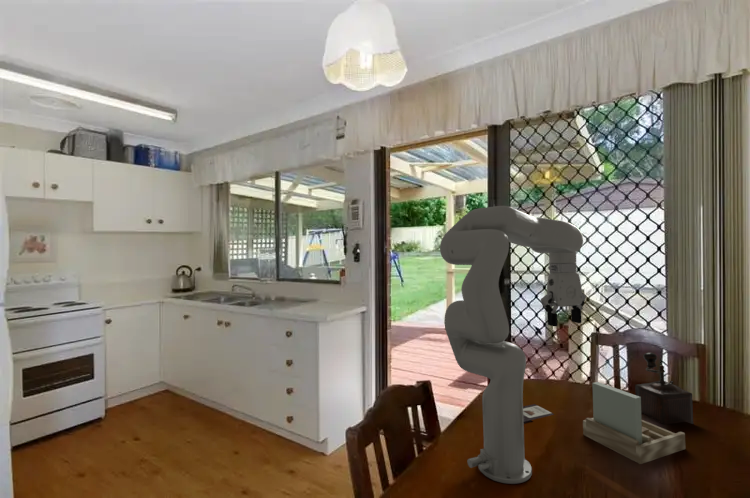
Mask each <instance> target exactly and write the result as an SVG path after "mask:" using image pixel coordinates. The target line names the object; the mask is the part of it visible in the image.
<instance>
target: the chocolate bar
mask: <svg viewBox="0 0 750 498" xmlns="http://www.w3.org/2000/svg"><path fill="white" fill-rule="evenodd" d="M553 415H555V414H554V413H553V412H551V411H549V410H547V409H545V408H543V407H542V406H539V405H537V404H535V403H533V404H529V405H523V422H524V424H527V423H533V422H534V421H533V420H537V419H542V418H545V417H550V416H553Z"/></svg>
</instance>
